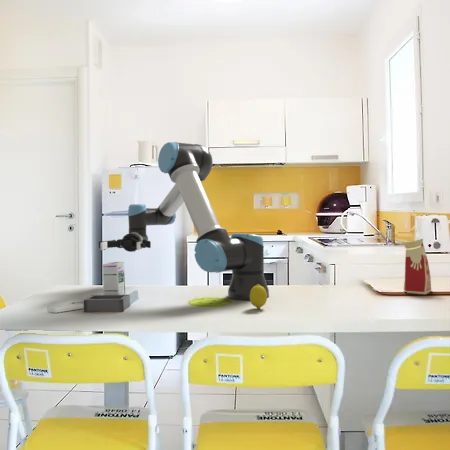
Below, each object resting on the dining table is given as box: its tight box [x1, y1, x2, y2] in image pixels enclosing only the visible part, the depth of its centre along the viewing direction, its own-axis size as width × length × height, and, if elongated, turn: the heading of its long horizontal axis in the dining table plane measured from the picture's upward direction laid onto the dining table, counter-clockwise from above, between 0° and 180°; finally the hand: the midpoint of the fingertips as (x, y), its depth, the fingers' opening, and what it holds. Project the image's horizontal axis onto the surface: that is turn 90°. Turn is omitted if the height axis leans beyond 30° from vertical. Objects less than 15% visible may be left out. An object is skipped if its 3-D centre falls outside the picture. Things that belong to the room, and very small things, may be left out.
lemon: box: [249, 284, 268, 310], centre depth 158 cm, size 6×6×8 cm
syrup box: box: [102, 261, 126, 295], centre depth 173 cm, size 6×6×14 cm
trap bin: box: [83, 294, 131, 313], centre depth 163 cm, size 9×13×4 cm
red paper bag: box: [402, 238, 432, 295], centre depth 184 cm, size 9×9×20 cm
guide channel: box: [98, 290, 139, 306], centre depth 175 cm, size 14×12×3 cm
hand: (119, 246), depth 182 cm, fingers open, 13 cm apart
